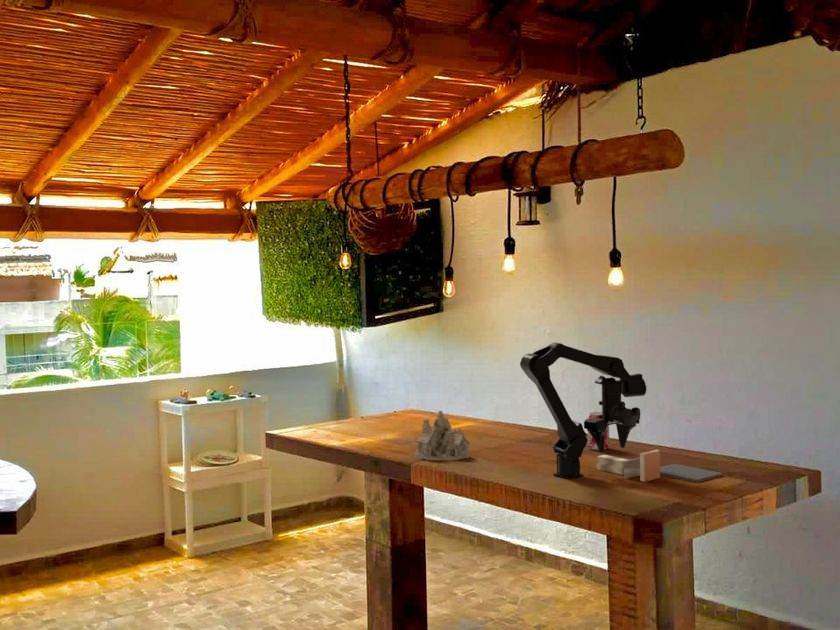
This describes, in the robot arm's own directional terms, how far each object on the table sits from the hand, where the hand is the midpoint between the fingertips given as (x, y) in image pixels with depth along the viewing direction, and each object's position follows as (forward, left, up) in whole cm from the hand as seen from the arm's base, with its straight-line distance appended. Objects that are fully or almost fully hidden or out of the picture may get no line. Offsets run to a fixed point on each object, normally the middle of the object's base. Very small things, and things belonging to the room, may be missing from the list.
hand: (612, 449), depth 268 cm
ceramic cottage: (-53, -24, -7) cm, 58 cm away
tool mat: (+17, +12, -7) cm, 22 cm away
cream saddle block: (+2, 0, -6) cm, 7 cm away
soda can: (-25, +21, -7) cm, 33 cm away
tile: (+14, 0, -7) cm, 15 cm away
